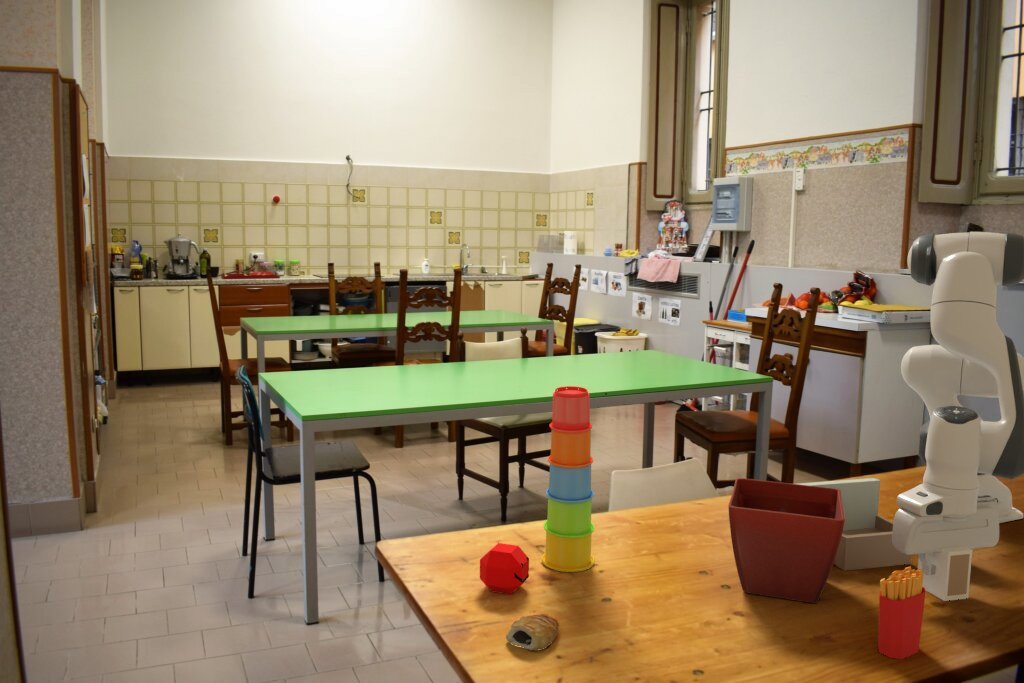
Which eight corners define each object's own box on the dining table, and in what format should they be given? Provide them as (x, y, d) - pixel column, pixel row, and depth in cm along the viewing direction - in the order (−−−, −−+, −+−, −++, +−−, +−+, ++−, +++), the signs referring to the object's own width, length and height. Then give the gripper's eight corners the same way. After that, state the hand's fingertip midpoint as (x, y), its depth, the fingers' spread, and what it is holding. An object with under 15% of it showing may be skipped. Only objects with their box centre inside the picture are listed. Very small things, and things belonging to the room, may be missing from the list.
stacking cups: (605, 562, 165) (609, 387, 160) (571, 577, 158) (575, 395, 153) (564, 548, 172) (567, 380, 167) (530, 562, 164) (533, 387, 160)
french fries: (902, 637, 135) (908, 559, 134) (927, 648, 132) (934, 569, 130) (866, 652, 130) (872, 571, 129) (892, 664, 127) (898, 581, 125)
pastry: (533, 622, 140) (534, 600, 139) (569, 632, 136) (570, 610, 136) (502, 644, 132) (503, 621, 132) (540, 657, 129) (540, 633, 128)
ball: (517, 601, 147) (518, 559, 146) (475, 593, 150) (475, 552, 149) (532, 583, 155) (532, 543, 154) (491, 576, 157) (492, 537, 156)
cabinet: (939, 582, 157) (943, 536, 156) (968, 598, 150) (972, 549, 149) (916, 585, 156) (920, 538, 155) (944, 601, 149) (948, 552, 148)
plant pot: (835, 573, 161) (841, 487, 159) (839, 615, 143) (845, 519, 141) (732, 559, 167) (736, 476, 165) (723, 598, 149) (727, 506, 147)
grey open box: (872, 542, 177) (876, 477, 175) (910, 563, 166) (916, 494, 164) (785, 550, 172) (788, 484, 170) (818, 573, 161) (823, 502, 159)
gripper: (984, 489, 156) (977, 560, 158) (888, 496, 151) (883, 570, 153) (1011, 499, 150) (1005, 574, 152) (913, 507, 145) (908, 584, 147)
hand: (943, 572), depth 152 cm, fingers closed on cabinet, 5 cm apart
